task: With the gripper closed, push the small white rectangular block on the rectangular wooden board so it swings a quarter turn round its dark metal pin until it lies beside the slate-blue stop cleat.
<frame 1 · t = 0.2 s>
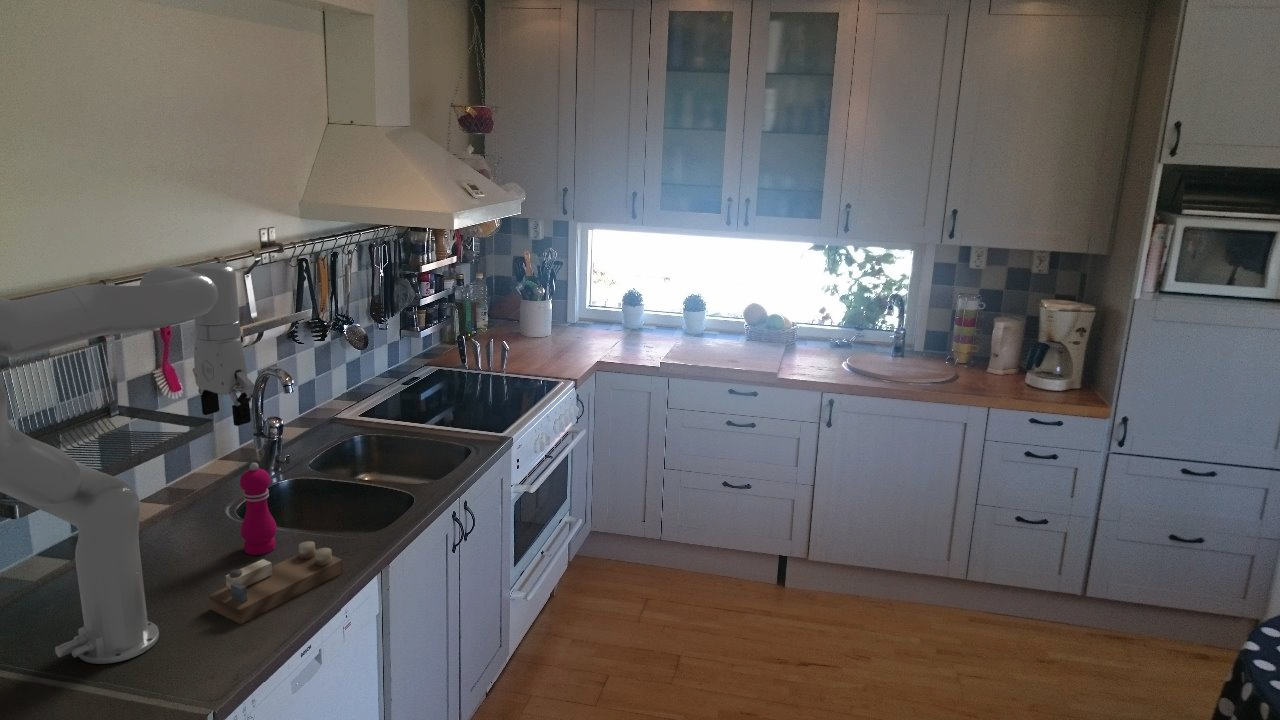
hand: (226, 418, 169), 36 cm above the worktop, tool pointing down, fingers open, 9 cm apart
rectangular wooden board: (279, 590, 178), on the worktop
pepper mill: (260, 549, 194), on the worktop
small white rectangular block: (249, 573, 174), point 5 cm above the worktop, hinge at 0.0°
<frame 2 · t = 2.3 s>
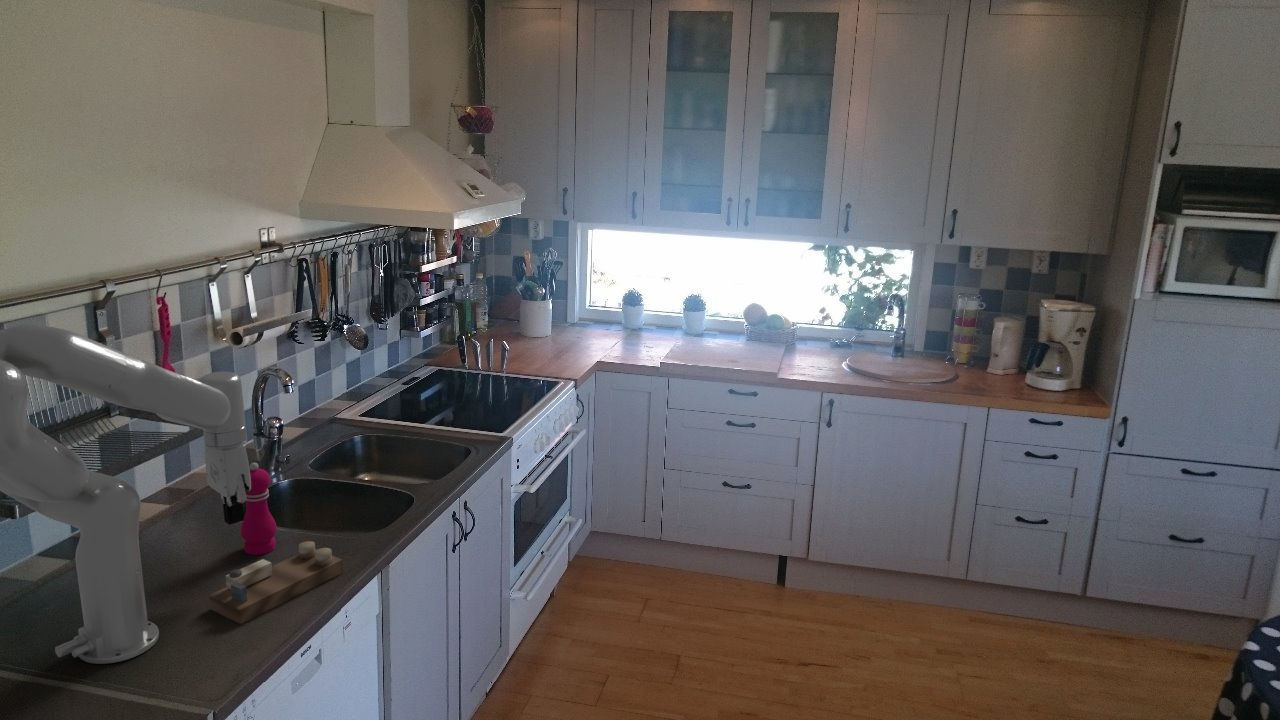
hand: (234, 521, 178), 13 cm above the worktop, tool pointing down, fingers closed
nothing on the worktop moved.
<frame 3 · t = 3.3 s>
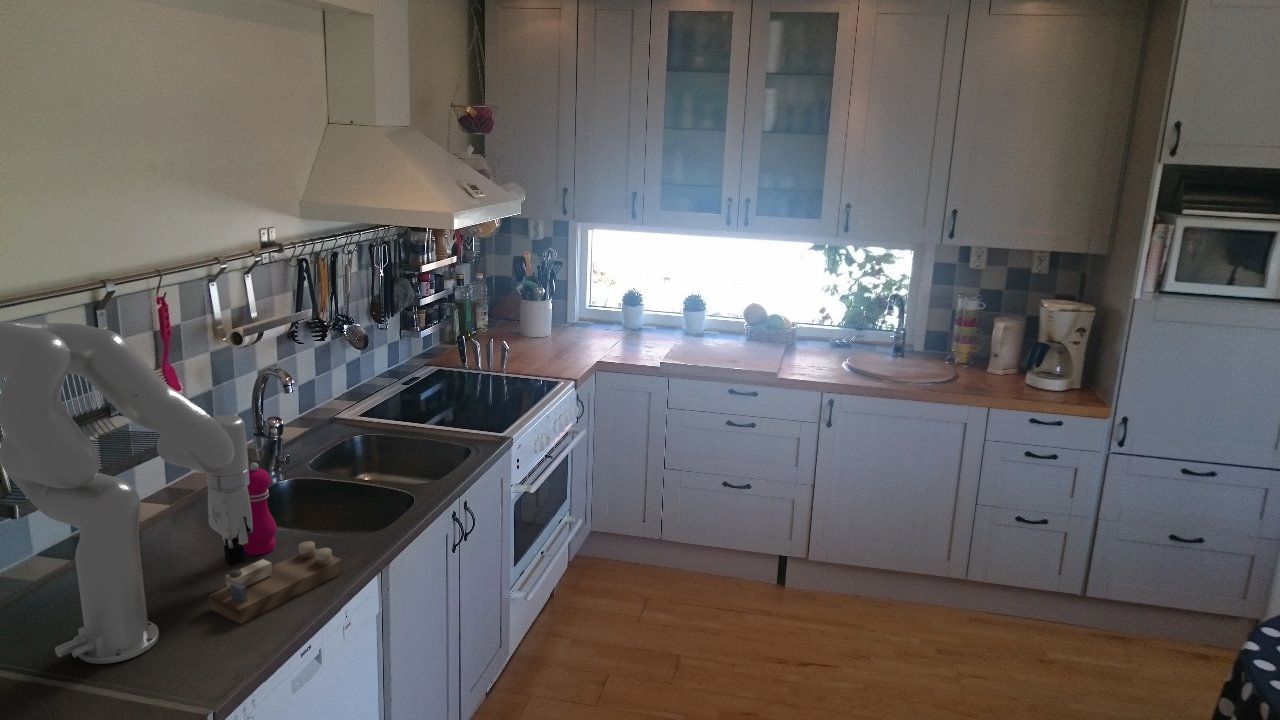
hand: (235, 562, 180), 4 cm above the worktop, tool pointing down, fingers closed
nothing on the worktop moved.
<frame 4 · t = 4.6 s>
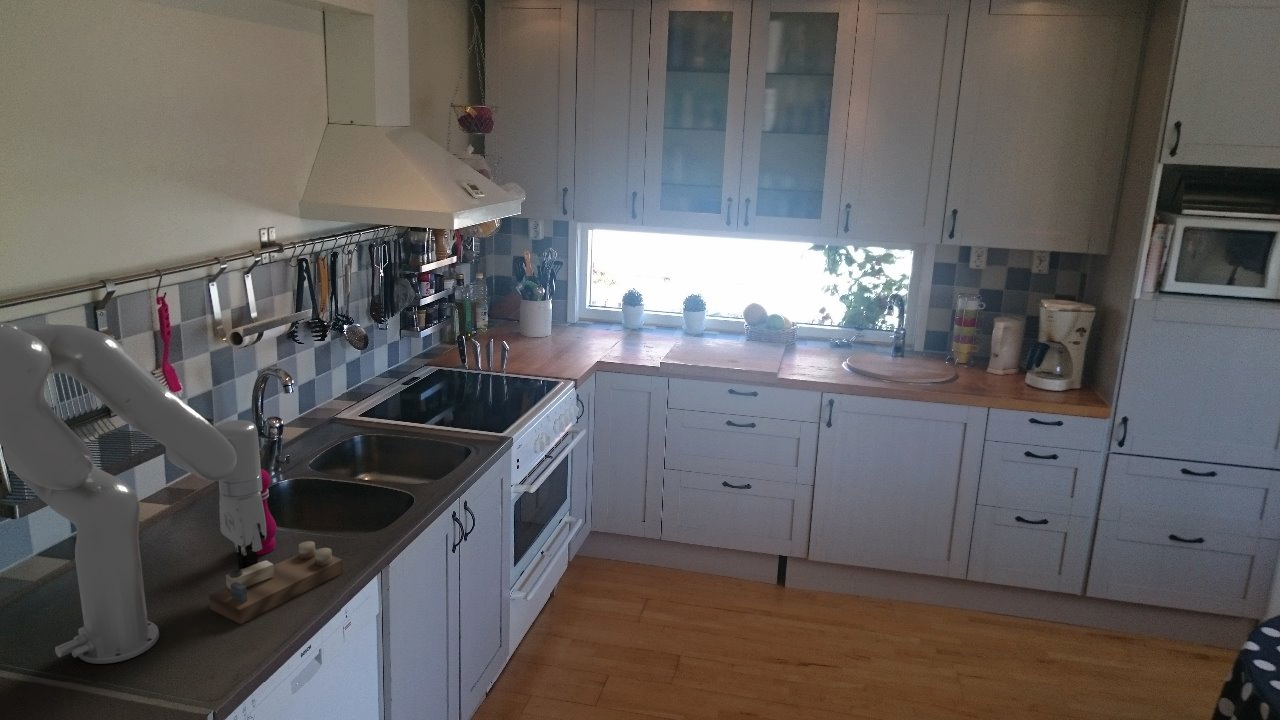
hand: (248, 569, 177), 4 cm above the worktop, tool pointing down, fingers closed
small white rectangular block: (250, 574, 174), point 5 cm above the worktop, hinge at -7.4°, touching gripper
everything else where it was.
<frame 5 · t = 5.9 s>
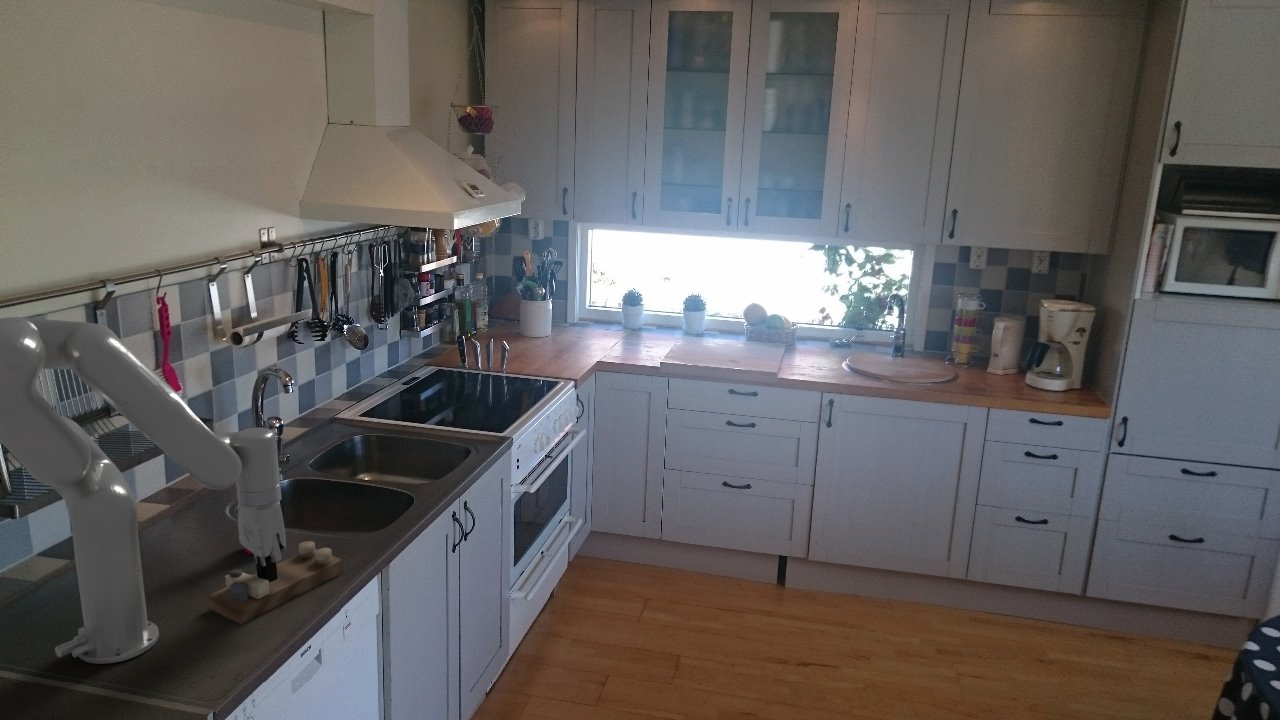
hand: (267, 580, 172), 5 cm above the worktop, tool pointing down, fingers closed
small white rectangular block: (247, 583, 171), point 5 cm above the worktop, hinge at -82.9°, touching gripper
everything else where it was.
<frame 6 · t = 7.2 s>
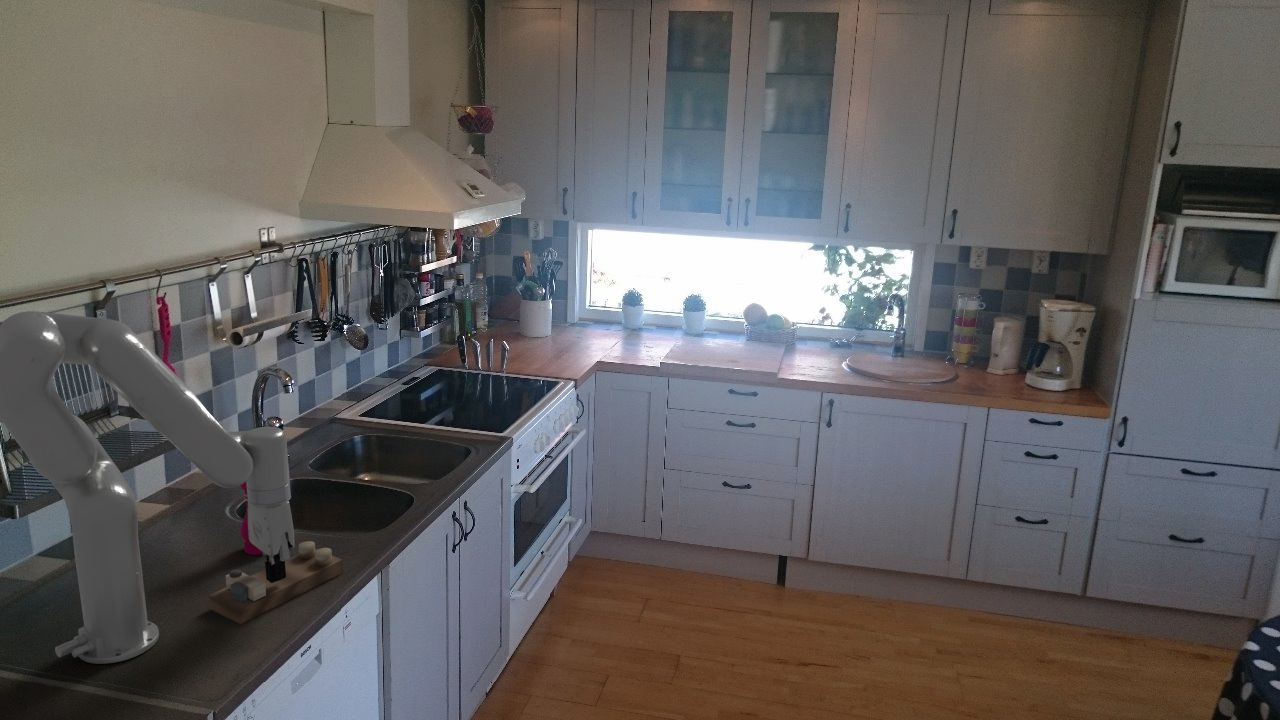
hand: (276, 578, 174), 4 cm above the worktop, tool pointing down, fingers closed
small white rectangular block: (245, 584, 170), point 5 cm above the worktop, hinge at -90.5°
everything else where it was.
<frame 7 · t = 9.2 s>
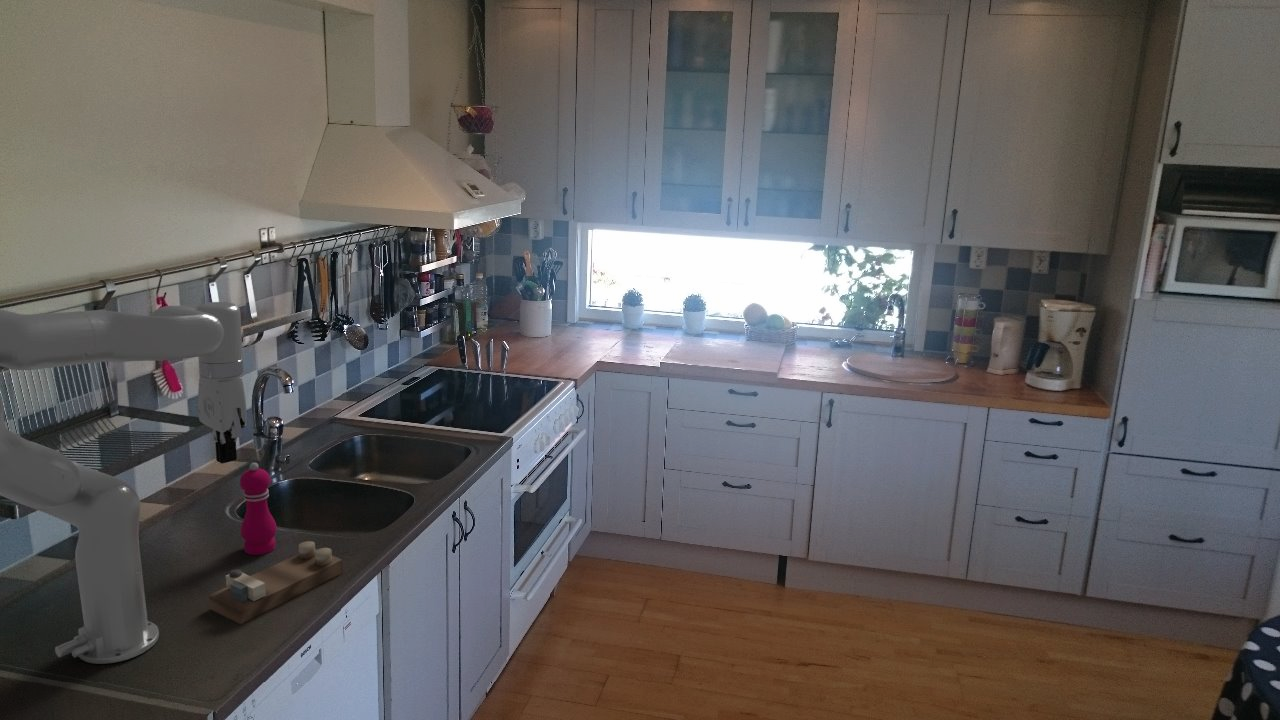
hand: (226, 460, 171), 27 cm above the worktop, tool pointing down, fingers closed
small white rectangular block: (245, 584, 170), point 5 cm above the worktop, hinge at -90.8°
everything else where it was.
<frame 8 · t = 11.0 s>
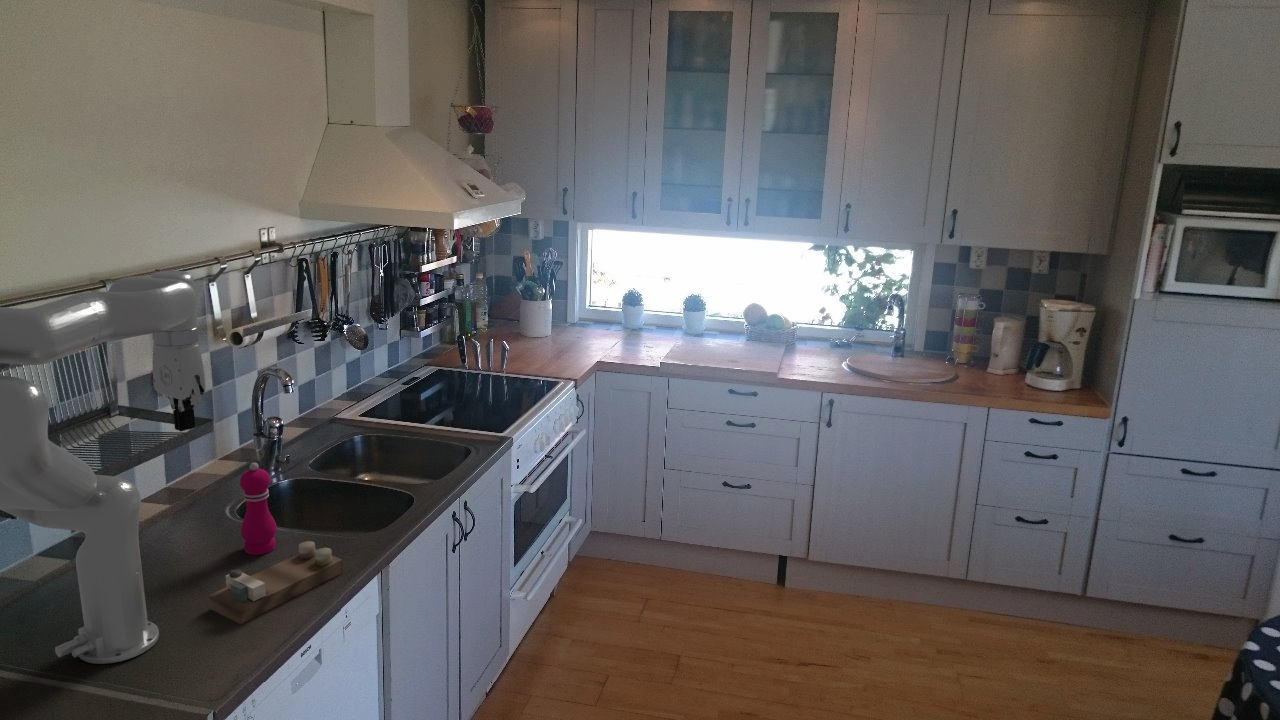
hand: (185, 428, 173), 32 cm above the worktop, tool pointing down, fingers closed
nothing on the worktop moved.
at the end: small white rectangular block at -91° (first picture: +0°); pepper mill moved 0.2 cm from its start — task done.
